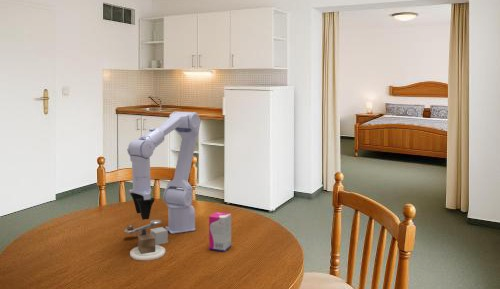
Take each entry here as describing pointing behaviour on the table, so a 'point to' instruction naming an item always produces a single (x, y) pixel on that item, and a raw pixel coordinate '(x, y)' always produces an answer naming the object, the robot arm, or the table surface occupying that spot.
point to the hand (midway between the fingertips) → (142, 215)
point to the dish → (147, 254)
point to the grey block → (160, 235)
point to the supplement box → (220, 231)
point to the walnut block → (146, 243)
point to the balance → (141, 228)
